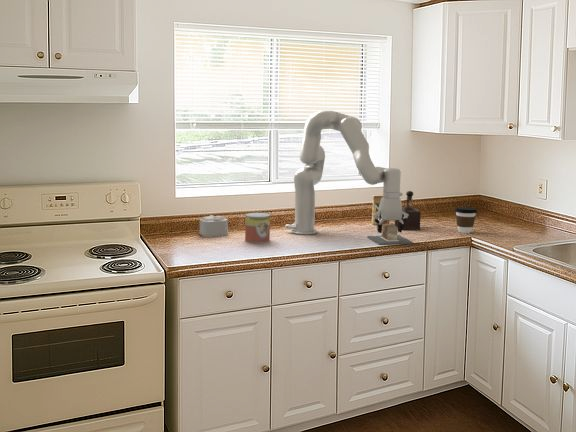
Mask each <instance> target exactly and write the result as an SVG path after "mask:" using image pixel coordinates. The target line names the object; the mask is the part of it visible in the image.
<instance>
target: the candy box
mask: <svg viewBox="0 0 576 432" xmlns="http://www.w3.org/2000/svg"><path fill="white" fill-rule="evenodd" d="M381 198H383V194H373V195H372V207H371V209H372V213H371V225H378V224H377V223H376V222H375V221H374V218H373V216H372V215H373V214H375V213H376V212H378V211H379V206H380V201H381ZM377 219H378V220H379V217H378V216H377ZM383 224H390V220H384V221H383V222H382V223H381V225H382V226H383Z"/></svg>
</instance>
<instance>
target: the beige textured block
mask: <svg viewBox="0 0 576 432" xmlns="http://www.w3.org/2000/svg"><path fill="white" fill-rule="evenodd" d="M381 234H382V235H381V236H382V237H383V238H385V239H387V240H388V241H393V240H397V235H398V227H396V226H395V225H393V224H392V223H389V224H383V225H382V233H381Z"/></svg>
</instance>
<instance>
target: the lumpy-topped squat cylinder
mask: <svg viewBox="0 0 576 432" xmlns="http://www.w3.org/2000/svg"><path fill="white" fill-rule="evenodd" d="M228 220H229V219H228V218H227V217H224V216H222V215H216V216H215V215H214V214H213V215H212V214H210V215H208V216H203V217H202V218H200V219H199V235H200V236H202V237H204V238H206V237H207V238H215V237H216V238H217V237H223V236H227V235H228V234H229V221H228Z"/></svg>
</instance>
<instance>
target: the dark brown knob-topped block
mask: <svg viewBox="0 0 576 432" xmlns="http://www.w3.org/2000/svg"><path fill="white" fill-rule="evenodd" d="M405 195H406V199H404V200H403V202H406V206H404V207H403V206H402V211H403V212H405V213H407V214H409V216H408V217H407V220H406V221H405V222H404V224H403V229H402V231H421V216H422V215H421V213H422V212H421V210H418V208H415V205H413V206H411V205H410V201H412V200H413V196H414V192H413V191H412V190H408V191H406V193H405ZM402 218H404V215H403V214H402ZM398 223H399V221H398V220H394V226H396V227H398Z"/></svg>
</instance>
